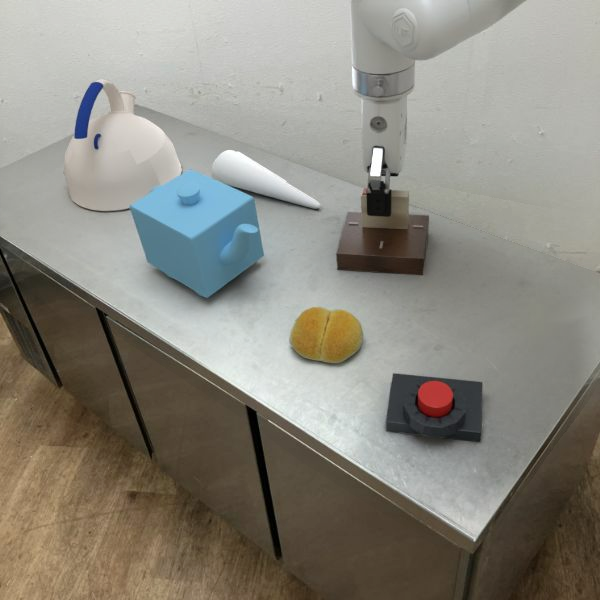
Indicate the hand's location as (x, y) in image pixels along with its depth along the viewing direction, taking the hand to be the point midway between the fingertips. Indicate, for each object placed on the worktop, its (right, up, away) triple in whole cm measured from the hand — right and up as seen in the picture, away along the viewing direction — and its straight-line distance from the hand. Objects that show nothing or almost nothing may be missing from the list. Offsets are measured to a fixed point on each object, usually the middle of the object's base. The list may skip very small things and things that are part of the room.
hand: (383, 194), depth 90 cm
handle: (+1, -4, +3) cm, 5 cm away
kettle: (-43, +7, +26) cm, 50 cm away
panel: (+1, -7, +5) cm, 8 cm away
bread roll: (-8, -20, -8) cm, 23 cm away
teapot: (-24, -11, +4) cm, 27 cm away
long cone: (-17, +2, +17) cm, 24 cm away
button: (+3, -26, -21) cm, 33 cm away
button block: (+3, -27, -18) cm, 33 cm away
